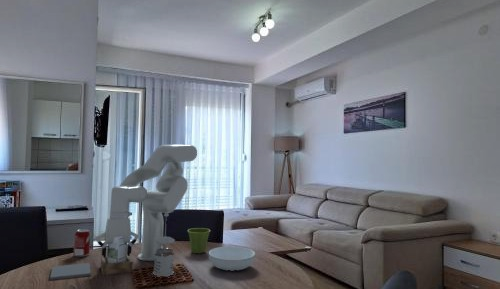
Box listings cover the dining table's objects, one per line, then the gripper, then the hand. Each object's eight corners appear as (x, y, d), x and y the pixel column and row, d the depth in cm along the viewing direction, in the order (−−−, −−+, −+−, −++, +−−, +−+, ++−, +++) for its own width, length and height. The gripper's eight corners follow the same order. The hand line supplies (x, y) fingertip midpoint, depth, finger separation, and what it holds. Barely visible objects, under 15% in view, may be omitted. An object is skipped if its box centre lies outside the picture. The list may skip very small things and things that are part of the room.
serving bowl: (198, 266, 149) (199, 251, 150) (232, 258, 165) (232, 244, 165) (230, 279, 135) (231, 262, 136) (264, 268, 151) (264, 253, 151)
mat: (89, 265, 145) (89, 263, 145) (90, 275, 133) (90, 273, 133) (52, 268, 139) (52, 266, 139) (49, 280, 126) (49, 277, 126)
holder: (128, 263, 149) (129, 254, 150) (132, 271, 139) (132, 261, 140) (100, 266, 144) (101, 257, 144) (102, 274, 134) (103, 264, 134)
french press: (153, 279, 132) (157, 215, 133) (148, 270, 142) (151, 211, 143) (178, 276, 136) (181, 214, 137) (171, 267, 146) (173, 210, 148)
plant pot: (190, 248, 180) (191, 227, 180) (211, 250, 178) (212, 228, 179) (183, 254, 168) (184, 231, 169) (206, 256, 166) (207, 233, 167)
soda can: (82, 258, 155) (84, 232, 156) (70, 256, 156) (71, 231, 157) (92, 254, 162) (93, 229, 162) (80, 253, 163) (81, 228, 164)
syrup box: (126, 268, 144) (128, 234, 144) (116, 272, 138) (118, 236, 139) (115, 266, 146) (117, 232, 146) (105, 270, 140) (107, 235, 141)
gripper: (138, 213, 150) (136, 252, 149) (96, 214, 142) (93, 255, 141) (141, 216, 144) (139, 256, 143) (97, 217, 136) (94, 260, 135)
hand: (116, 256), depth 142 cm, fingers open, 9 cm apart
